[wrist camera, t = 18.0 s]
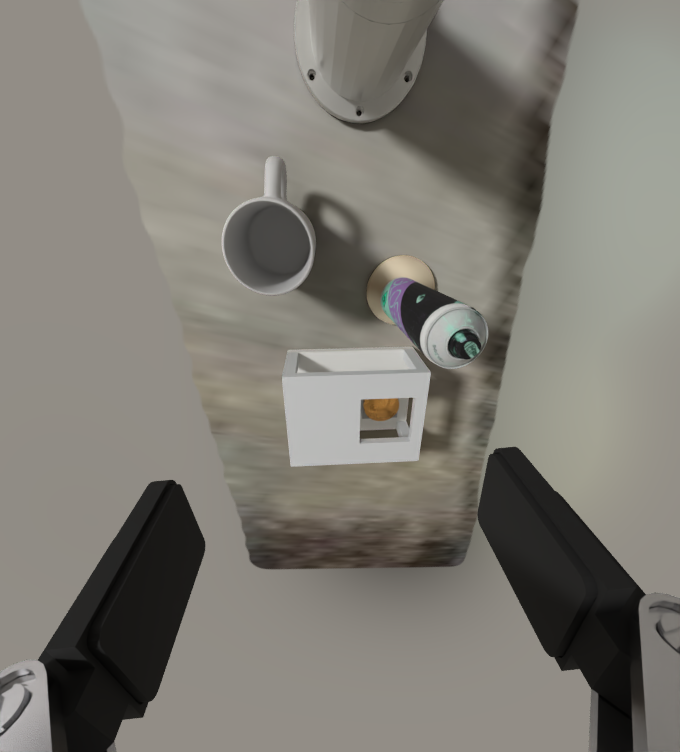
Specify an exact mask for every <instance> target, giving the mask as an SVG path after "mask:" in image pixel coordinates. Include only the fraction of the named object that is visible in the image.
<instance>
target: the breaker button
mask: <svg viewBox="0 0 680 752" xmlns="http://www.w3.org/2000/svg"><path fill="white" fill-rule="evenodd" d="M363 406H364V411H365V413H366V415H367V416H368V417H369V418H370V419H372V420H375V421H385V420H388V419H390V418H392V417H393V416H394V415H395V414H396V413H397V411H398V409H399V400H398V398H390V399H364V403H363Z"/></svg>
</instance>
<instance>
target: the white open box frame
mask: <svg viewBox="0 0 680 752" xmlns="http://www.w3.org/2000/svg"><path fill="white" fill-rule="evenodd" d="M430 376H431V372H430V370H429V369H428V368H427V366H426V365H425V363H424V362H423V361H422V359H421V358H420V356H419V355H418V354H417V352H416V351H415V349H414V348H413V347H412V346H410V347H373V348H337V349H300V350H288V352H287V356H286V361H285V365H284V370H283V374H282V384H283V394H284V404H285V414H286V424H287V434H288V444H289V454H290V464H291V467H293V466H314V465H336V464H357V463H379V462H400V461H418V460H419V453H420V446H421V439H422V432H423V425H424V418H425V411H426V404H427V397H428V390H429V383H430ZM390 398H398V400H399V409H398V411H397V413H396V414H395V415H394V416H393V417H392V418H390V419H388V420H385V421H375V420H372V419H370V418H369V417H368V416H367V415H366V413H365V411H364V406H363V403H364V399H390ZM409 398H413V403H412V412H411V420H410V428H409V427H408V424H407V422H406V418H407V410H408V401H409ZM386 429H396V430H397V432H398V435H399V437H395V438H371V439H360V431H362V430H386Z"/></svg>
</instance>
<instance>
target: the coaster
mask: <svg viewBox="0 0 680 752" xmlns="http://www.w3.org/2000/svg"><path fill="white" fill-rule="evenodd" d="M399 277H406V278H410V279H412V280H414V281H416V282H418V283H420V284H423V285H425V286H427V287H429V288H431V289H433V290H435V282H434V277H433V275H432V272H431V270H430V269H429V268H428V266H427V265H426V264H425V263H424V262H422V261H421V260H419V259H417V258H415V257H412V256H408V255H399V256H394V257H391V258H389V259H387V260H385V261H384V262H382V263H381V264H380V265H379V266H377V268H376V269H375V270H374V271H373V273H372V274H371V276H370V278H369V281H368V285H367V301H368V304H369V307H370V309H371V310H372V312H373V313H374V314H375V316H376V317H377V318H379V319H380V320H382V321H383V322H385V323H388V324H392V325H396V324H395V323H394V322H393V321H392V320H391V319H390V318H389V317H388V316H387V315H386V314H385V312H384V311H383V309H382V307H381V303H380V296H381V292H382V290H383V288H384V287H385V285H386V284H387V283H388V282H390V281H391V280H393V279H395V278H399Z"/></svg>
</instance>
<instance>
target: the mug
mask: <svg viewBox="0 0 680 752" xmlns="http://www.w3.org/2000/svg"><path fill="white" fill-rule="evenodd" d="M286 187H287V175H286V166H285V163H284V161H283V159H281V158H280V157H277V156H271V157H269V158H268V159H267V161H266V165H265V190H264V196H262V197H259V198H254V199H250V200H248V201H246V202H244V203H242V204H240V205H239V206H238V207H237V208H235V209H234V211H233V212H232V213H231V214H230V216H229V217H228V219H227V221H226V223H225V225H224V229H223V233H222V251H223V255H224V259H225V261H226V264H227V266H228V268H229V270H230V271H231V273H232V274H233V276H234V277H235V278H236V279H237V280H238V281H239V282H240V283H241V284H242V285H244V286H245V287H246V288H248V289H250V290H251V291H254V292H256V293H259V294H262V295H269V296H276V295H282V294H286V293H288V292H291V291H293V290H294V289H296V288H297V287H299V286H300V285H301V284H302V283H303V282H304V281H305V279H306V278H307V276H308V275H309V273H310V271H311V268H312V266H313V262H314V256H315V250H316V236H315V231H314V228H313V226H312V224H311V222H310V220H309V219H308V217H307V216H306V215H305V213H304V212H303V211H301V210H300V209H299V208H298V207H296V206H294V205H292V204H291V203H289V202H288V201H287V198H286Z"/></svg>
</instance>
